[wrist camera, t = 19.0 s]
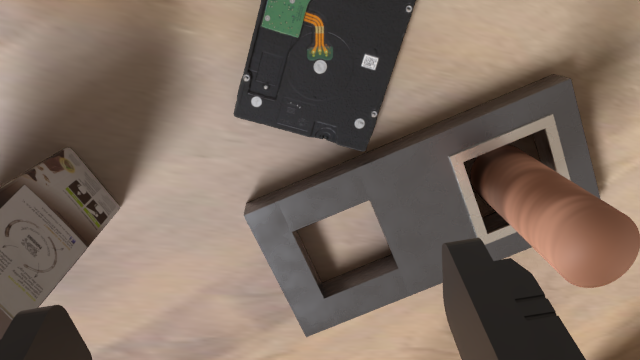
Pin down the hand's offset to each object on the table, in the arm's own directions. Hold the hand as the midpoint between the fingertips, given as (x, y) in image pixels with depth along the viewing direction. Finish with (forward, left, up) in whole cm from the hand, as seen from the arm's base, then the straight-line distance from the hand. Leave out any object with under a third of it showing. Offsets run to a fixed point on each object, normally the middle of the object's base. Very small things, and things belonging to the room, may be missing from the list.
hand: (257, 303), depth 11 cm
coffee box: (-20, -1, -29) cm, 36 cm away
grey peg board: (+7, -13, -29) cm, 33 cm away
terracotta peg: (+14, -13, -29) cm, 35 cm away
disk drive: (+5, +2, -30) cm, 30 cm away
